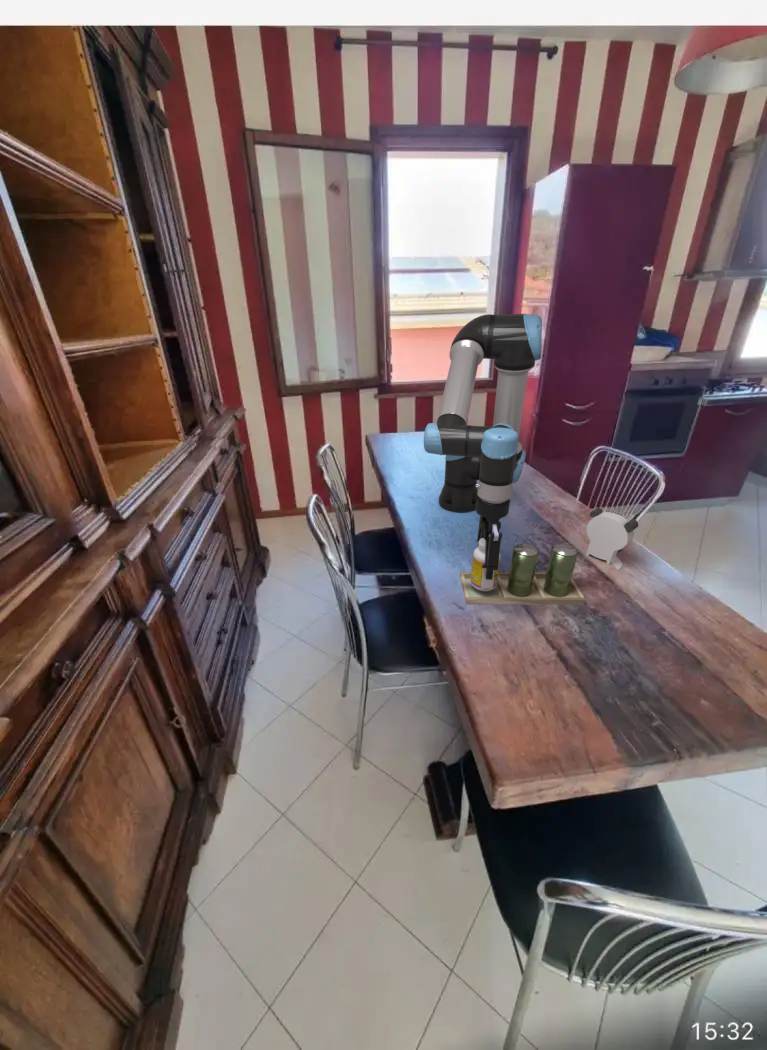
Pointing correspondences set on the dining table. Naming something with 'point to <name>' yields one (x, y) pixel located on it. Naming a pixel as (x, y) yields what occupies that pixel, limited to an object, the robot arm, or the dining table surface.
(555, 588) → the can
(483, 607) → the dining table surface
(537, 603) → the caddy
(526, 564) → the can
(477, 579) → the supplement bottle
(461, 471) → the robot arm
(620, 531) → the panda figurine
